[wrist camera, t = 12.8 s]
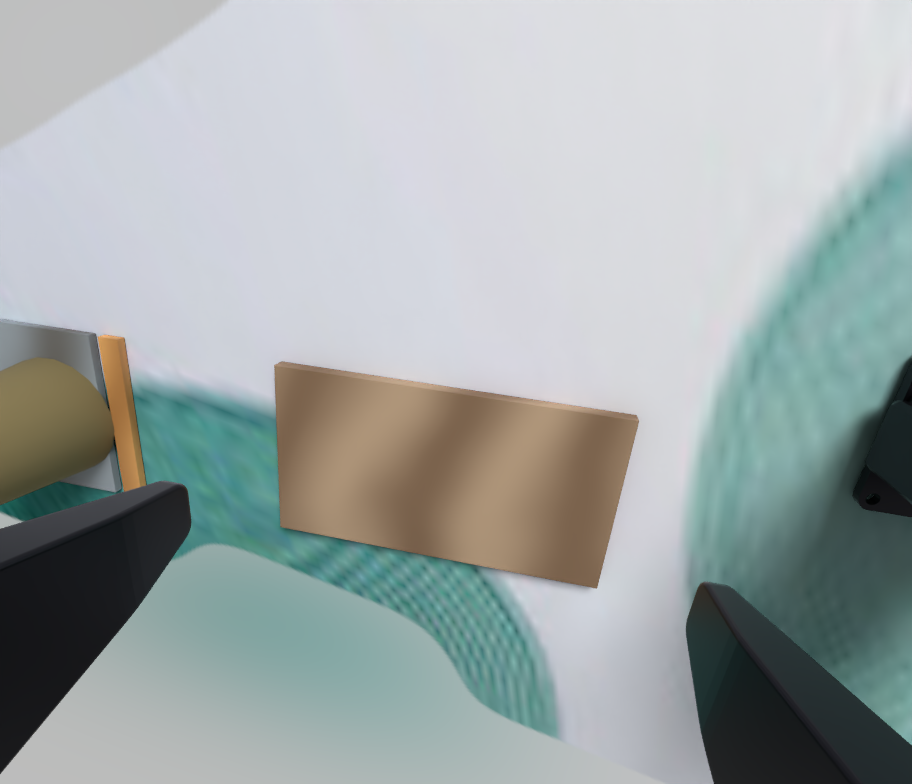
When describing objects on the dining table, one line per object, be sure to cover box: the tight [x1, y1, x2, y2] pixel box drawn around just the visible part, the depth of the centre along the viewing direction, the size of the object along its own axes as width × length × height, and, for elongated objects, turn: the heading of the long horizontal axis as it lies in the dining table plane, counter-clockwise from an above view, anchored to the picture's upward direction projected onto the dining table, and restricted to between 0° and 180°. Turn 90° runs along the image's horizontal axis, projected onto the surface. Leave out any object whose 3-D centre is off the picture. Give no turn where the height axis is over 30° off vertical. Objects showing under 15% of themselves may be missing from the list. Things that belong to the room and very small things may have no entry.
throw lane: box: [0, 319, 639, 588], centre depth 24 cm, size 31×8×1 cm, turn 84°
